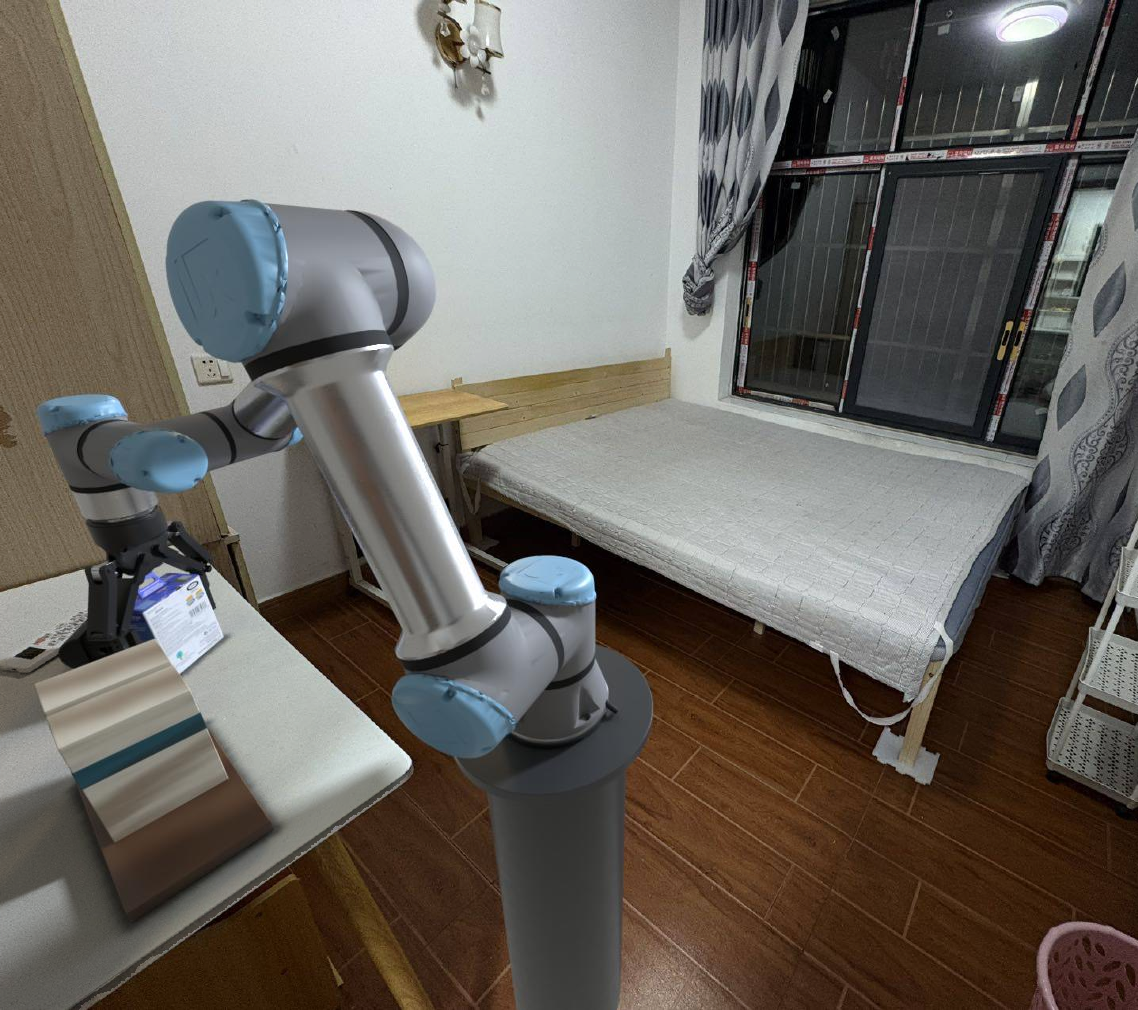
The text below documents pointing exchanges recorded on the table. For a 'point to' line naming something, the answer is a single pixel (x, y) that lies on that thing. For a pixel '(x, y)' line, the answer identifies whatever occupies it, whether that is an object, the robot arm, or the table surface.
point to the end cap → (83, 649)
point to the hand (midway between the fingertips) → (175, 636)
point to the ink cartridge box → (176, 617)
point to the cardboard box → (149, 774)
